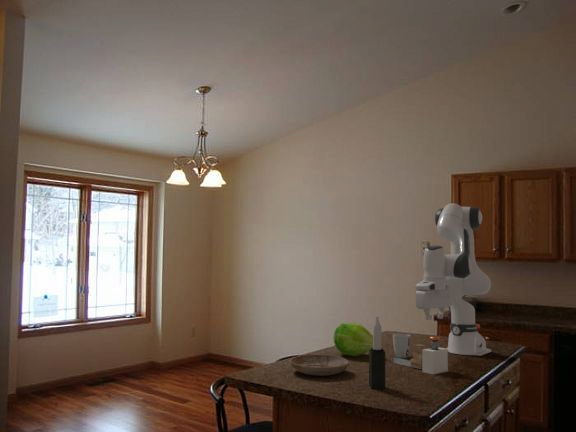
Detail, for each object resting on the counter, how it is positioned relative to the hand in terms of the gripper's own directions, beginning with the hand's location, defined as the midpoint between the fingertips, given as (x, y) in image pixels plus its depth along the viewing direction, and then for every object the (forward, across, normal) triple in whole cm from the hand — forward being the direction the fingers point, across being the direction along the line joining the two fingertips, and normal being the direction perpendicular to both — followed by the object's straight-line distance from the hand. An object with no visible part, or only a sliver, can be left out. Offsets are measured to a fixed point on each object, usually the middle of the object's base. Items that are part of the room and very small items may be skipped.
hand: (434, 319), depth 211 cm
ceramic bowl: (+22, +40, -26) cm, 52 cm away
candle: (+22, +38, +3) cm, 44 cm away
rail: (+21, 0, -12) cm, 24 cm away
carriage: (+21, 0, -8) cm, 23 cm away
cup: (+21, -13, -28) cm, 37 cm away
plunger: (+13, 0, 0) cm, 13 cm away
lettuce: (+21, +4, -42) cm, 47 cm away
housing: (+21, 0, 0) cm, 21 cm away
